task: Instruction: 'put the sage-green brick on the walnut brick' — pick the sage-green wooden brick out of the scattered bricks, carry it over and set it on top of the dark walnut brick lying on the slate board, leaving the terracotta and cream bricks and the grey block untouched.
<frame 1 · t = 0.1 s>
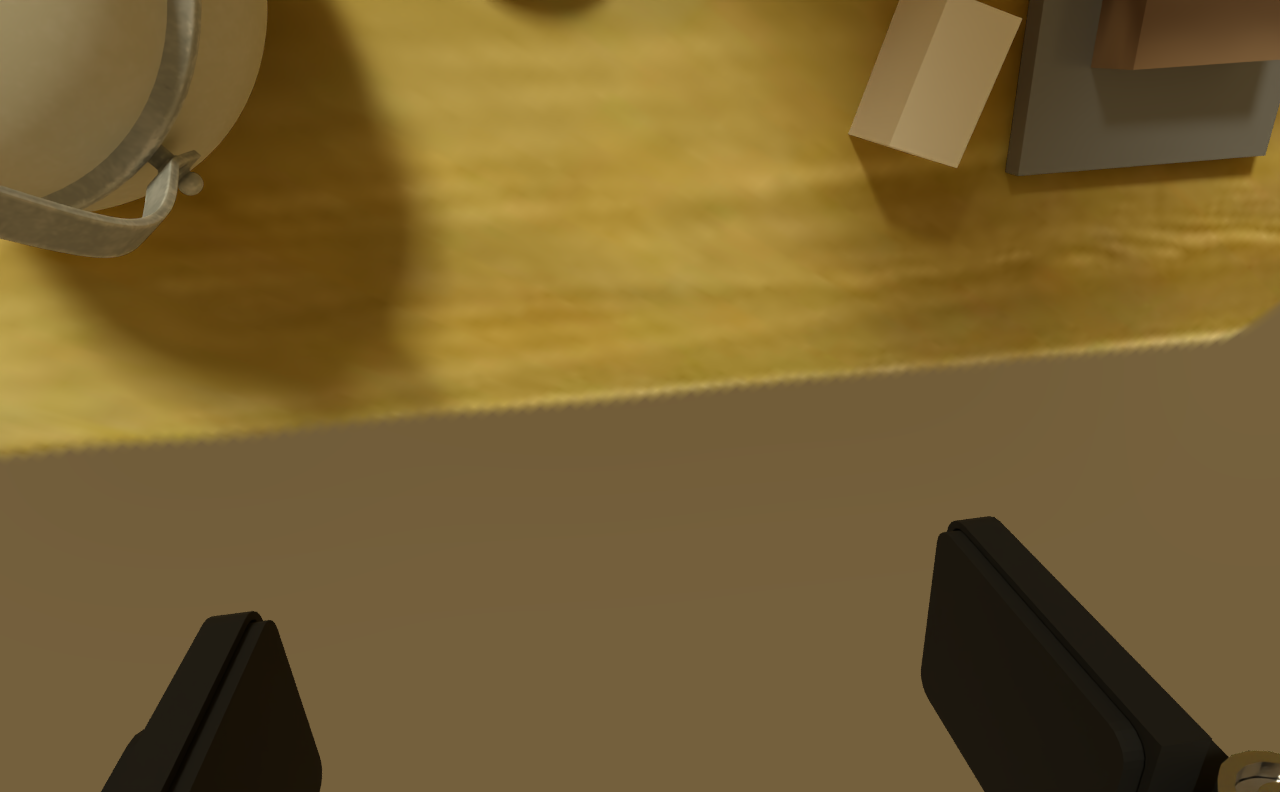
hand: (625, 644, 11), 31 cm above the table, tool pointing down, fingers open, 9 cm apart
brick cream: (904, 78, 39), on the table
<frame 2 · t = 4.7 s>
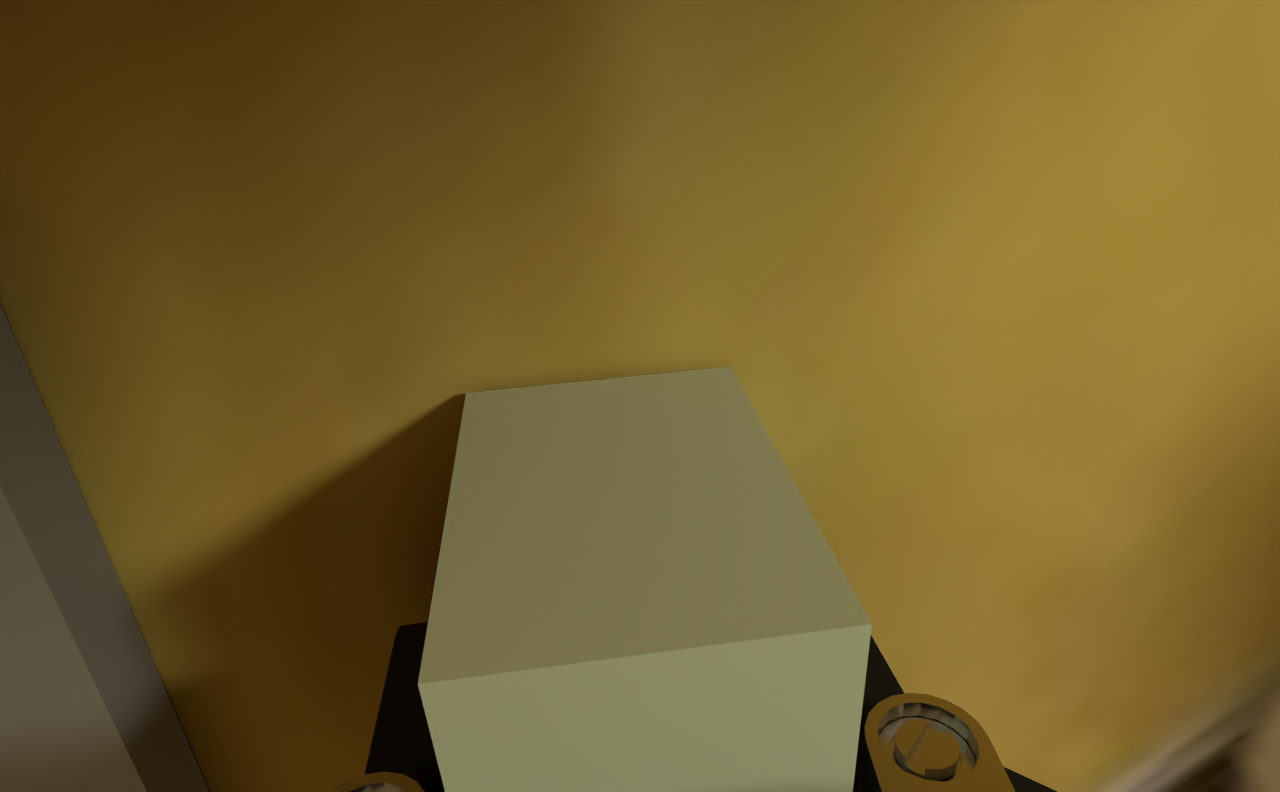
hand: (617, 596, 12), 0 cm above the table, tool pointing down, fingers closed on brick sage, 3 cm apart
brick sage: (615, 568, 12), on the table, touching gripper
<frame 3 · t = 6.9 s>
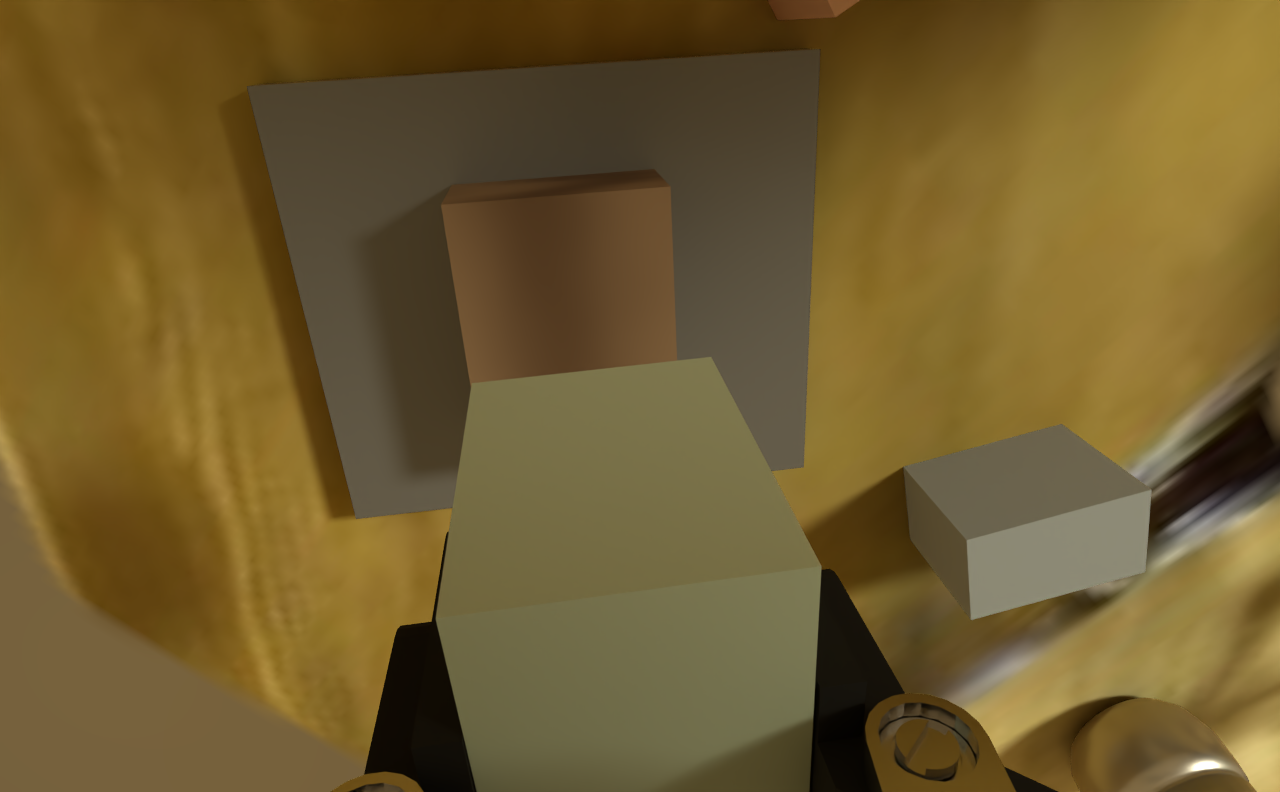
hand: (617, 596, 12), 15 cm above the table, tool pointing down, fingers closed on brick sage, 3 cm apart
slate board: (565, 294, 26), on the table
brick walnut: (567, 305, 25), point 1 cm above the table, touching slate board
brick sage: (610, 544, 13), point 14 cm above the table, touching gripper
grey block: (983, 481, 31), on the table
plastic bottle: (1111, 725, 39), on the table
when the fingers open (5 cm above the table, at t = 9.1 s): brick sage stays where it is, resting on brick walnut.
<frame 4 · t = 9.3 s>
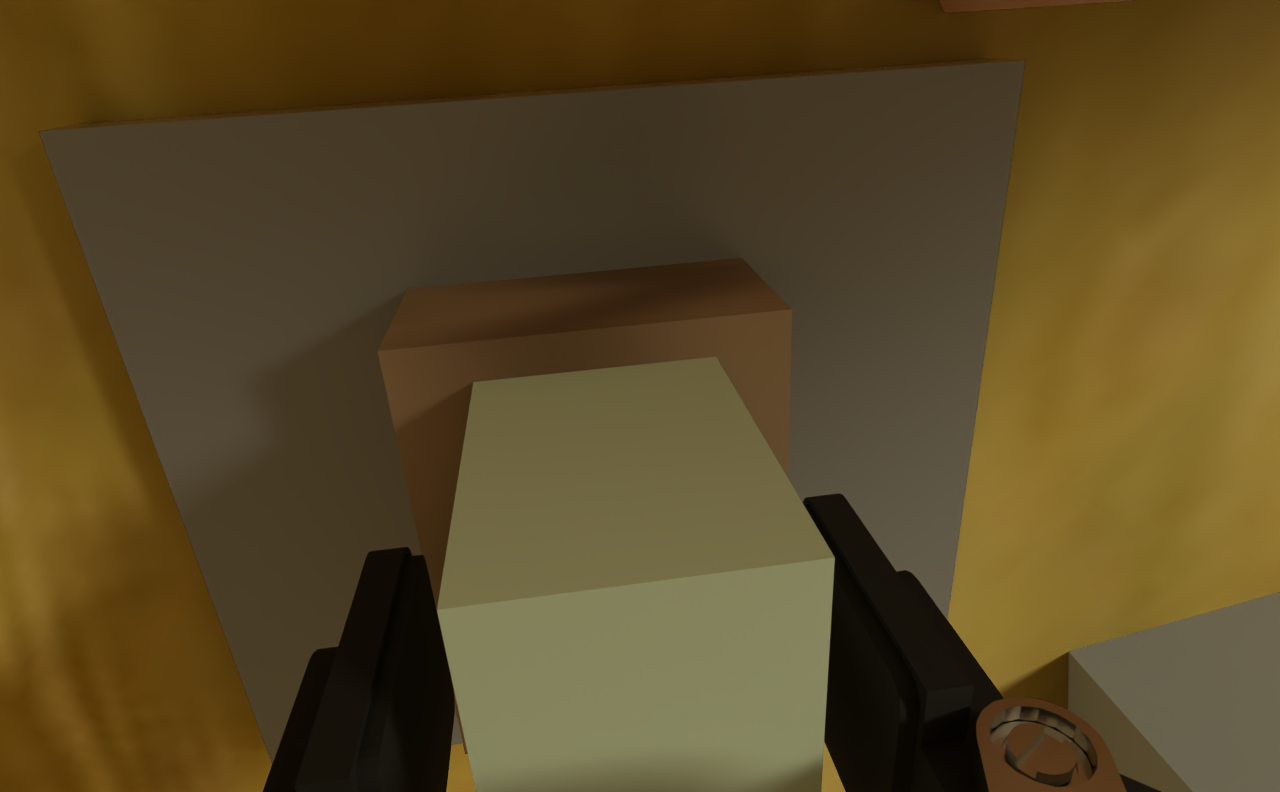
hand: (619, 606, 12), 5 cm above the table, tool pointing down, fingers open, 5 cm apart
slate board: (592, 438, 17), on the table
brick walnut: (596, 466, 16), point 1 cm above the table, touching brick sage, slate board
brick sage: (612, 549, 13), point 4 cm above the table, touching brick walnut
grey block: (1174, 664, 22), on the table
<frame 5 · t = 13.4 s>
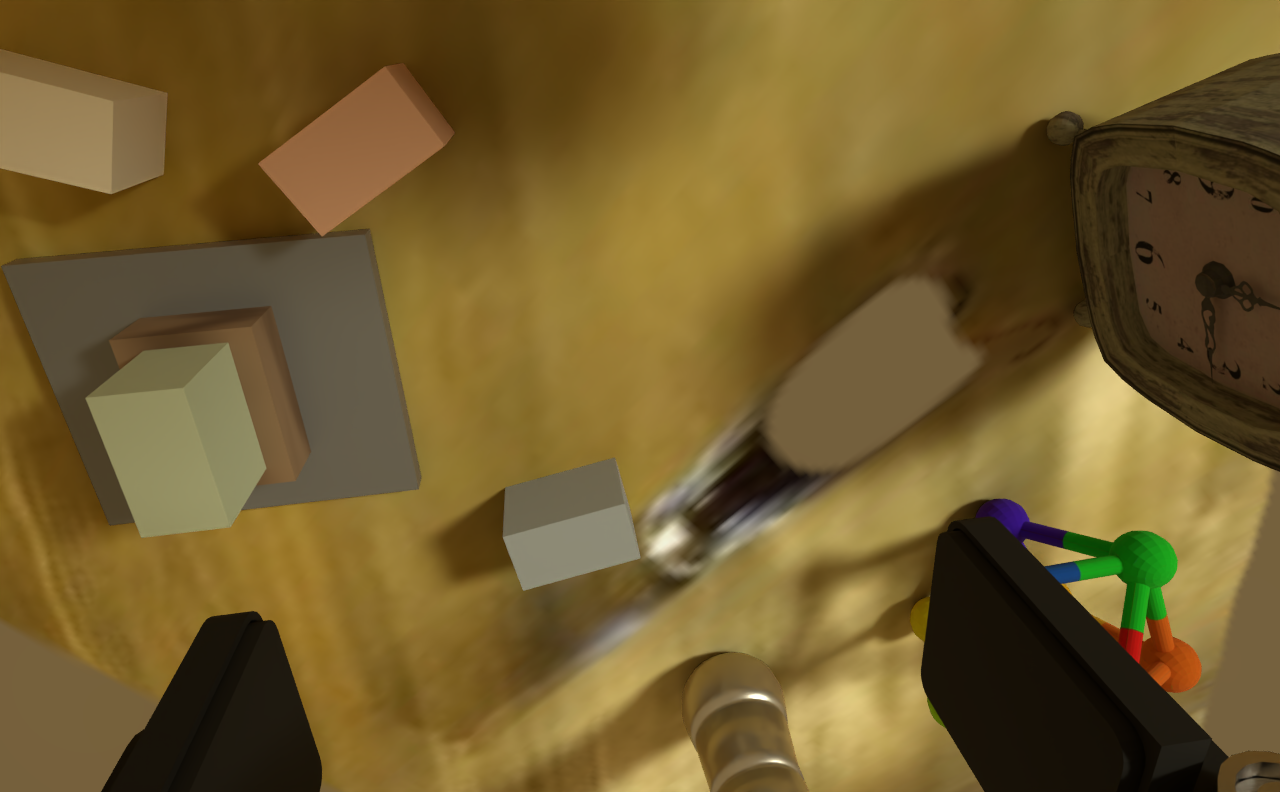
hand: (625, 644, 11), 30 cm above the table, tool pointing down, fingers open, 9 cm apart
brick cream: (85, 113, 34), on the table
slate board: (238, 378, 40), on the table
brick walnut: (229, 388, 39), point 1 cm above the table, touching brick sage, slate board
brick sage: (207, 412, 36), point 4 cm above the table, touching brick walnut
grey block: (568, 497, 45), on the table
educational toy: (974, 545, 51), on the table
brick terracotta: (374, 140, 36), on the table
plastic bottle: (722, 674, 53), on the table
tabletop clock: (1112, 201, 42), on the table
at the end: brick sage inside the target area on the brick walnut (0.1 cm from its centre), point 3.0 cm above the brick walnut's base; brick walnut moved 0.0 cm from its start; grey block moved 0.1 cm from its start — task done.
